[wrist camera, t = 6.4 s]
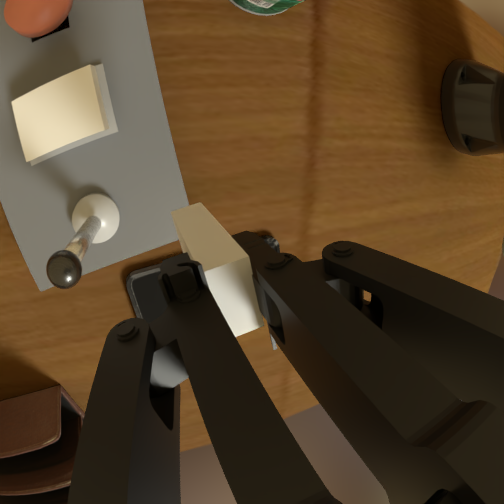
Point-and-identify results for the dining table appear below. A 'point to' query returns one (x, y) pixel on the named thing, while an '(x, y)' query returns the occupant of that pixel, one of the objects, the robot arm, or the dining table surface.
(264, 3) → the canned tomato
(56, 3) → the push button
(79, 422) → the letter holder
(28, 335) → the dining table surface
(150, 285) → the phone
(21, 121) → the rocker switch
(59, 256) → the toggle lever
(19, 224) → the control panel
